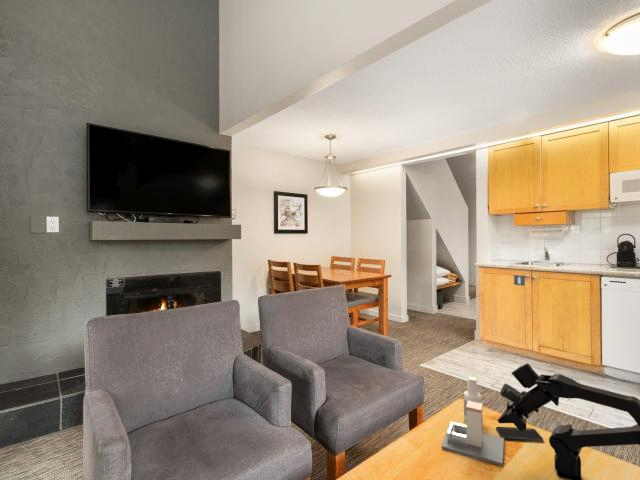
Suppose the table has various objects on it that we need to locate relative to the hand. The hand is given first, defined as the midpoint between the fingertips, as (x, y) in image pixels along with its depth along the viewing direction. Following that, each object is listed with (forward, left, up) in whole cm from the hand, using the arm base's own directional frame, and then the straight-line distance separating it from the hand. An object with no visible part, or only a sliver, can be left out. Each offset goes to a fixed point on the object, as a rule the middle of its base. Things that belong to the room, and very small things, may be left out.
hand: (498, 421), depth 125 cm
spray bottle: (+10, -18, -11) cm, 23 cm away
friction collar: (+14, 0, -10) cm, 17 cm away
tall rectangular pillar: (+8, 0, -10) cm, 13 cm away
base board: (+8, 0, -11) cm, 14 cm away
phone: (-7, -15, -11) cm, 20 cm away
